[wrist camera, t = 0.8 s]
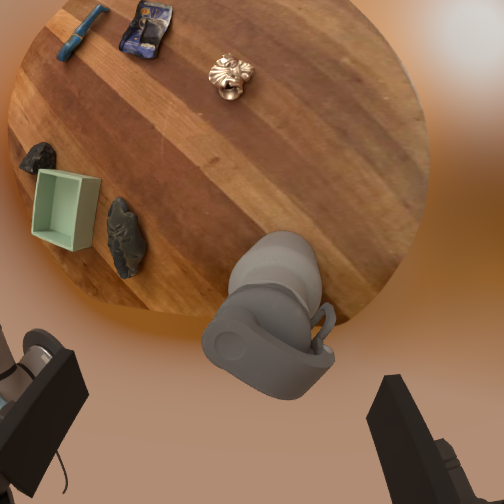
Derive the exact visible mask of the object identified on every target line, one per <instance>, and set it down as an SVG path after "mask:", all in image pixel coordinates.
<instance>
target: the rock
mask: <svg viewBox="0 0 504 504" xmlns="http://www.w3.org/2000/svg"><path fill="white" fill-rule="evenodd" d="M54 164H55V151H54V150H53V148H52V147H51V145H49V144H48V143H45V142H41V143H39V144H37V145H34V146H33V147H32V148H31V149H30V151H29V152H28V154H27V155H26V157H25V158H24V159H23V161H22V162H21V164H20V166H19V168H20V169H23V170H25V171H26V172H28V173H30V174H37V175H38V171H39V169H51V170H54V169H55V166H54Z"/></svg>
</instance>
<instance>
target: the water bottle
mask: <svg viewBox="0 0 504 504" xmlns="http://www.w3.org/2000/svg"><path fill="white" fill-rule="evenodd" d="M228 292H229V296H228V297H227V299H226V300H225V301H224V303H223V304H222V305H221V307H220V308H219V309H218V311H217V313H216V315H215V317H214V319H213V320H212V321H211V322H210V324H209V325H208V326H207V328H206V329H205V331H204V333H203V336H202V348H203V351H204V353H205V355H206V357H207V358H208V359H209V360H210V361H211V362H212V363H213V364H214V365H216V366H217V367H219V368H221V369H224V370H226V371H227V372H229V373H230V374H232V375H233V376H235V377H236V378H238V379H240V380H241V381H243V382H244V383H246V384H248V385H249V386H251V387H253V388H254V389H256V390H258V391H260V392H262V393H264V394H266V395H268V396H271V397H274V398H277V399H281V400H294V399H298V398H300V397H301V396H303V395H304V393H306V392H307V391H308V390H309V389H310V388H311V387H312V386H313V385H314V384H315V383H316V382H317V381H318V380H319V379H320V377H322V376H323V374H325V372H326V371H327V370H328V369H329V368H330V367H331V366H332V365H333V363H334V362H335V357H334V352H333V350H332V348H331V347H329V346H328V345H324V344H323V340H324V339H325V337H326V336H327V335H328V334H329V333H330V332H331V330H332V329H333V327H334V325H335V322H336V315H335V311H334V308H333V306H332V305H331V304H330V303H328V302H326V303H324V304H323V305H322V306H321V307H320V308H319V305H320V302H321V297H322V282H321V278H320V273H319V269H318V264H317V260H316V256H315V253H314V251H313V249H312V247H311V245H310V244H309V243H308V241H306V240H305V239H304V238H303V237H301V236H300V235H298V234H296V233H293V232H289V231H276V232H273V233H270V234H268V235H266V236H264V237H263V238H262V239H260V240H259V241H258V242H257V243H256V244H255V245H254V246H253V247H252V248H251V249H250V250H249V251H248V252H247V253H246V254H245V255H244V256H243V257H242V258H241V259H240V260H239V261H238V262H237V264H236V265H235V267H234V269H233V271H232V273H231V276H230V280H229V288H228ZM318 308H319V310H318ZM317 310H318V311H317ZM325 314H326V320H325V323H324V325H323V326H322V328H321V330H320V331H319V332H318V334H317V335H316V336H315V337H314V338H313V340H312V341H311V330H312V329H313V327H314V326H315V325H316V324H317V323H318V321H319V320H320V319H321V318H322V317H323V316H324V315H325Z"/></svg>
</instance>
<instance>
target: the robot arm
mask: <svg viewBox="0 0 504 504" xmlns="http://www.w3.org/2000/svg"><path fill="white" fill-rule="evenodd" d="M88 396H89V393H88V390H87V388H86V385H85V382H84V380H83V377H82V374H81V371H80V368H79V365H78V362H77V359H76V356H75V353H74V351H73V350H69V349H65V348H60V349H59V350H58V351H57V352H56V354H55V355H53V354H52V352H51V351H49V350H48V349H47V348H46V347H44V346H42V345H40V344H35V345H33V346H31V347H30V348H29V349H28V350H27V352H26V354H25V355H24V356H23V357H22V359H21V360H20V361H19V363H17V364H16V363H15V361H14V359H13V356H12V354H11V352H10V349H9V347H8V345H7V342H6V339H5V337H4V334H3V332H2V327H1V325H0V504H15V503H14V499H13V495H12V491H11V489H10V487H9V485H10V483H11V484H12V485H13V486H14V487H16V488H17V490H19V491H20V492H22V493H24V494H26V495H27V496H29V497H31V498H33V496H34V494H35V492H36V490H37V487H38V486H39V484H40V482H41V480H42V478H43V476H44V474H45V472H46V470H47V468H48V466H49V464H50V462H51V461H52V459H53V457H54V455H55V453H56V454H57V456H58V458H59V461H60V463H61V466H62V469H63V471H64V475H65V479H66V486H65V489H64V491H63V494H64V493H65V492H66V490H67V486H68V479H67V474H66V471H65V468H64V466H63V463H62V461H61V458H60V456H59V453H58V451H57V449H58V448H59V446H60V444H61V442H62V441H63V438H64V437H65V435H66V433H67V432H68V430H69V428H70V426H71V425H72V423H73V421H74V420H75V418H76V416H77V414H78V413H79V411H80V409H81V408H82V406H83V404H84V403H85V401H86V399H87V398H88ZM366 420H367V423H368V426H369V428H370V431H371V435H372V438H373V441H374V444H375V447H376V450H377V453H378V457H379V460H380V463H381V466H382V470H383V473H384V476H385V479H386V483H387V486H388V490H389V493H390V497H391V500H392V504H504V500H501V501H494V502H487V501H486V500H484V499H481V498H477V497H476V496H475V494H474V492H473V490H472V488H471V486H470V483H469V481H468V479H467V477H466V475H465V472H464V470H463V468H462V467H461V466H460V465H461V464H460V462H459V460H458V459H457V458H456V457H457V456H456V454H455V452H454V450H453V448H452V446H451V445H450V444H449V443H448V442H446V441H445V440H444V439H443V438H442V439H439V440H435V441H434V440H433V438H432V436H431V434H430V431H429V429H428V428H427V425H426V423H425V421H424V419H423V417H422V415H421V413H420V411H419V409H418V408H417V405H416V404H415V402H414V400H413V398H412V396H411V394H410V392H409V390H408V388H407V386H406V384H405V383H404V381H403V379H402V377H401V375H400V374H396V375H385V376H384V378H383V380H382V383H381V385H380V387H379V390H378V392H377V395H376V397H375V399H374V402H373V404H372V406H371V408H370V411H369V413H368V415H367V417H366Z"/></svg>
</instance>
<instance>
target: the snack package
mask: <svg viewBox="0 0 504 504" xmlns="http://www.w3.org/2000/svg"><path fill="white" fill-rule="evenodd" d="M171 14H172V7H171V6H170V5H163V4H162V3H156V2H150V1H146V0H142V1H140V2H139V4H138V6H137V10H136V14H135V17H134V18H133V20H132V22H131V23H130V25H129V28H128V29H127V31H126V32H125V33H124V34H123V36H122V40H121V42H120V44H119V50H120V51H122V52H128V53H131V54H134V55H137V56H139V57H140V58H152V59H154V58H156V56H157V51H158V49H157V48H158V45H159V42H160V40H161V38H162V36H163V34H164V33H165V31H166V29H167V27H168V25H169V23H170V19H171Z"/></svg>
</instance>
